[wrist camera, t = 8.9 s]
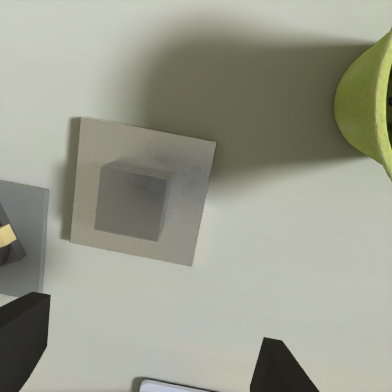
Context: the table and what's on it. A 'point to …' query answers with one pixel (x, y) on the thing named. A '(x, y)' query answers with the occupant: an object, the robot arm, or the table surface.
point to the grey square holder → (140, 190)
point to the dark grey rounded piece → (9, 241)
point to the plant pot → (368, 103)
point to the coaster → (25, 237)
